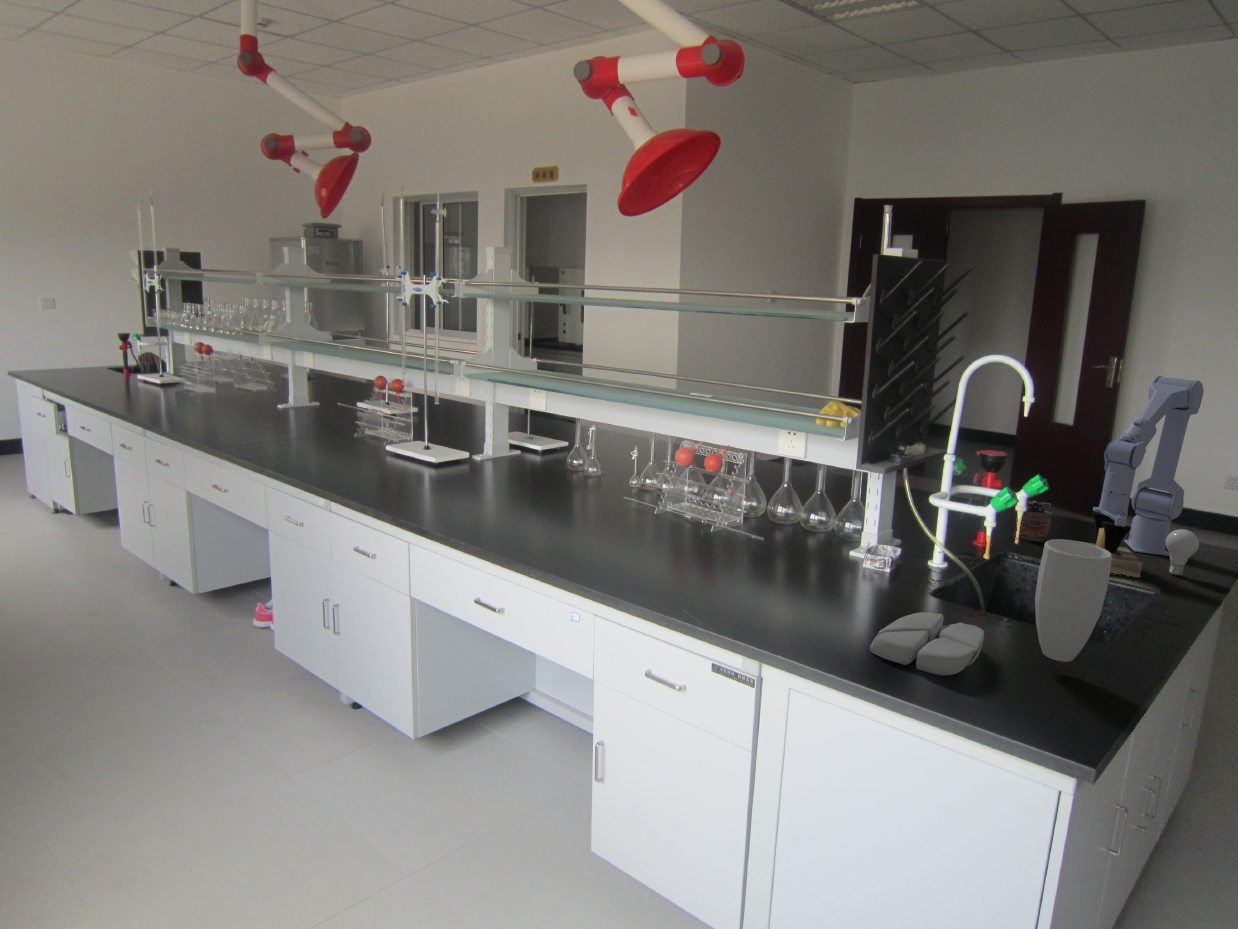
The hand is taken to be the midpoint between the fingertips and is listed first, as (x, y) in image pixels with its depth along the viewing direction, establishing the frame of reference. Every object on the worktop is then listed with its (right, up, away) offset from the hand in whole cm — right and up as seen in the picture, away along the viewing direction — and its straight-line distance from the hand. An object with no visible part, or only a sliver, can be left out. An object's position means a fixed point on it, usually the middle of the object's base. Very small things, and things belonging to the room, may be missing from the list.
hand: (1105, 547), depth 194 cm
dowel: (0, -4, +1) cm, 4 cm away
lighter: (-9, 0, +18) cm, 20 cm away
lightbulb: (+14, -6, -4) cm, 16 cm away
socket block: (-1, -4, 0) cm, 4 cm away
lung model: (-60, -13, -50) cm, 79 cm away
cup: (-43, -15, -58) cm, 73 cm away
